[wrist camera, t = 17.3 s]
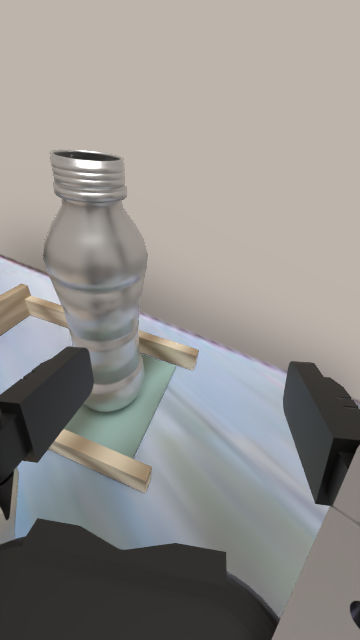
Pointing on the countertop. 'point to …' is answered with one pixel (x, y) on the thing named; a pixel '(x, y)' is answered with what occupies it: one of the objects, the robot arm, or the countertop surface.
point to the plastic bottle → (98, 271)
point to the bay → (114, 426)
